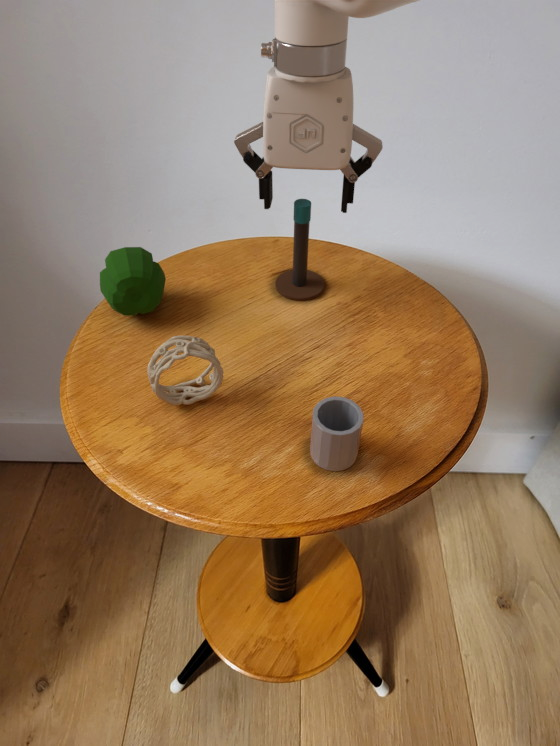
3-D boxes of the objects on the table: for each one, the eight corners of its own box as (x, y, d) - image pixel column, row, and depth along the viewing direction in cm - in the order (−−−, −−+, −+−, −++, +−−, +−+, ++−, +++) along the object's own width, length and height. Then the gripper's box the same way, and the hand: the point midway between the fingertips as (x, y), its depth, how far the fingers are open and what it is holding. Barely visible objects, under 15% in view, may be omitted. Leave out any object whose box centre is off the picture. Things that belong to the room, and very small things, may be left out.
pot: (357, 435, 62) (363, 398, 57) (356, 473, 58) (363, 437, 54) (311, 431, 62) (314, 394, 58) (308, 469, 58) (311, 432, 54)
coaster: (325, 273, 83) (325, 270, 83) (322, 302, 78) (323, 299, 78) (278, 270, 84) (278, 267, 83) (272, 298, 79) (272, 296, 78)
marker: (307, 278, 81) (311, 199, 72) (306, 287, 80) (310, 207, 71) (292, 277, 81) (294, 198, 73) (290, 286, 80) (293, 206, 71)
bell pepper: (179, 280, 71) (169, 249, 79) (115, 258, 67) (111, 227, 75) (155, 334, 74) (148, 299, 82) (92, 316, 70) (91, 281, 78)
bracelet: (150, 394, 66) (139, 343, 60) (216, 376, 68) (211, 325, 62) (159, 418, 63) (148, 367, 57) (226, 399, 65) (222, 348, 60)
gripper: (223, 65, 58) (233, 217, 70) (394, 70, 56) (375, 224, 68) (235, 44, 63) (243, 189, 75) (391, 48, 62) (374, 195, 74)
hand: (306, 205), depth 72 cm, fingers open, 9 cm apart
